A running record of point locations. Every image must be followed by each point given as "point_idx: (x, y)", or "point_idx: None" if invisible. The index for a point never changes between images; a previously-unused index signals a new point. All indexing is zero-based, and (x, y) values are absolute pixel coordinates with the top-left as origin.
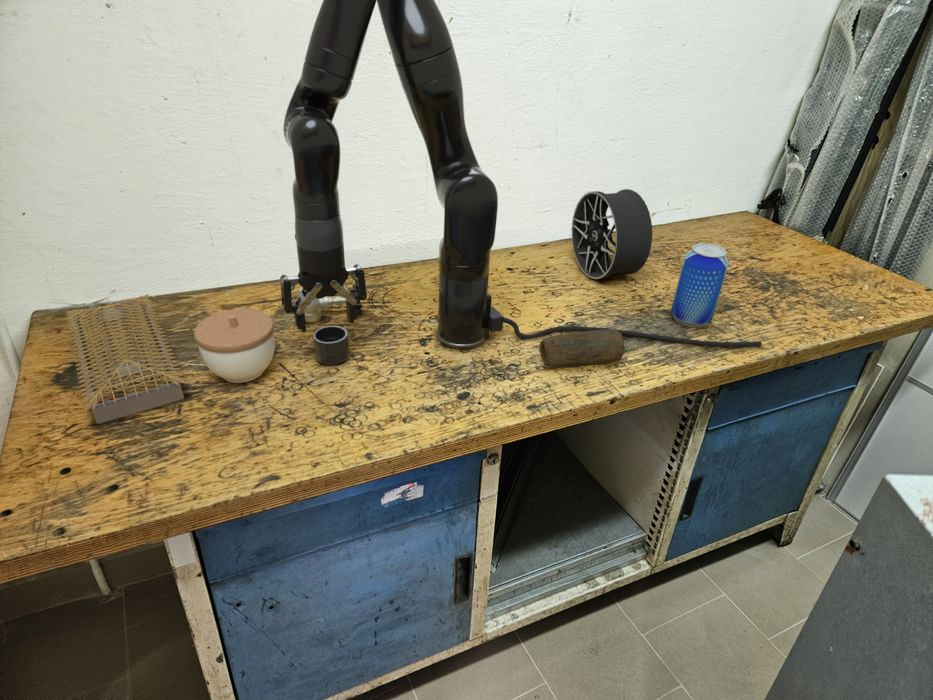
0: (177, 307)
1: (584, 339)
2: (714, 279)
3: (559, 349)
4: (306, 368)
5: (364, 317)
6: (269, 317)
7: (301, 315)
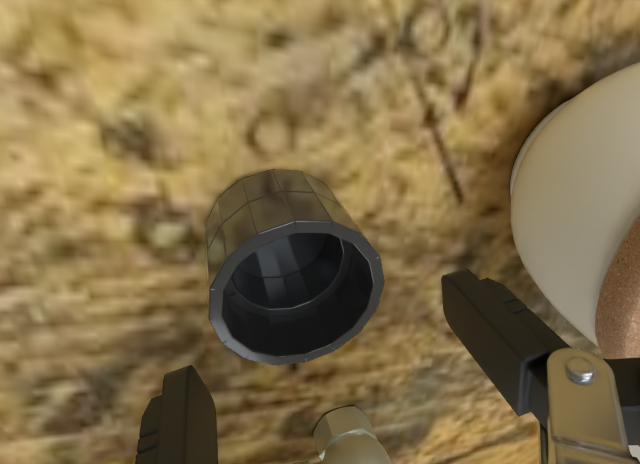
0: None
1: None
2: None
3: None
4: (378, 162)
5: None
6: (633, 340)
7: (539, 347)
